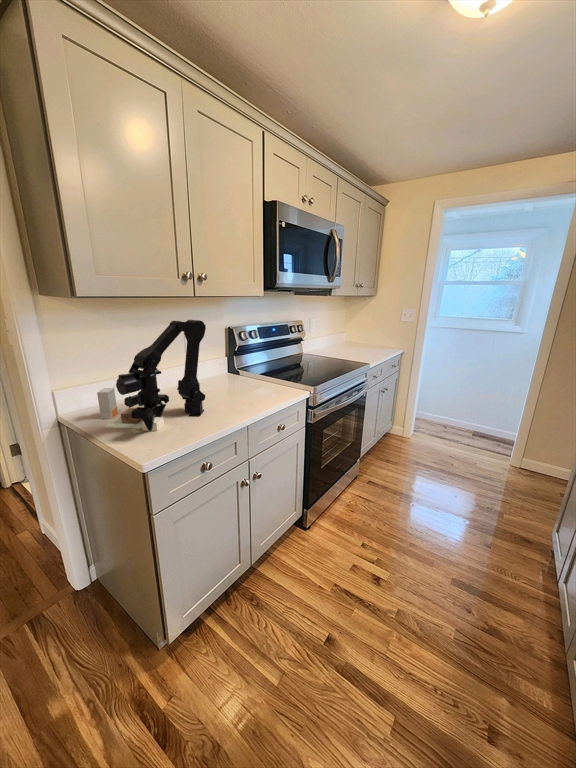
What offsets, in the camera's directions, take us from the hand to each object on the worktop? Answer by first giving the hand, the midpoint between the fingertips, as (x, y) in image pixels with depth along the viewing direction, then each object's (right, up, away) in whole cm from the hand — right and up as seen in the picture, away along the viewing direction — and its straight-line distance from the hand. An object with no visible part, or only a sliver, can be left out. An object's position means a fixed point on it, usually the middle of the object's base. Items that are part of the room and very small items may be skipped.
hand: (153, 427), depth 119 cm
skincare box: (-23, +2, +11) cm, 25 cm away
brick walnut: (-11, +2, +6) cm, 13 cm away
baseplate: (-11, +1, +6) cm, 13 cm away
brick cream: (0, -1, 0) cm, 1 cm away
